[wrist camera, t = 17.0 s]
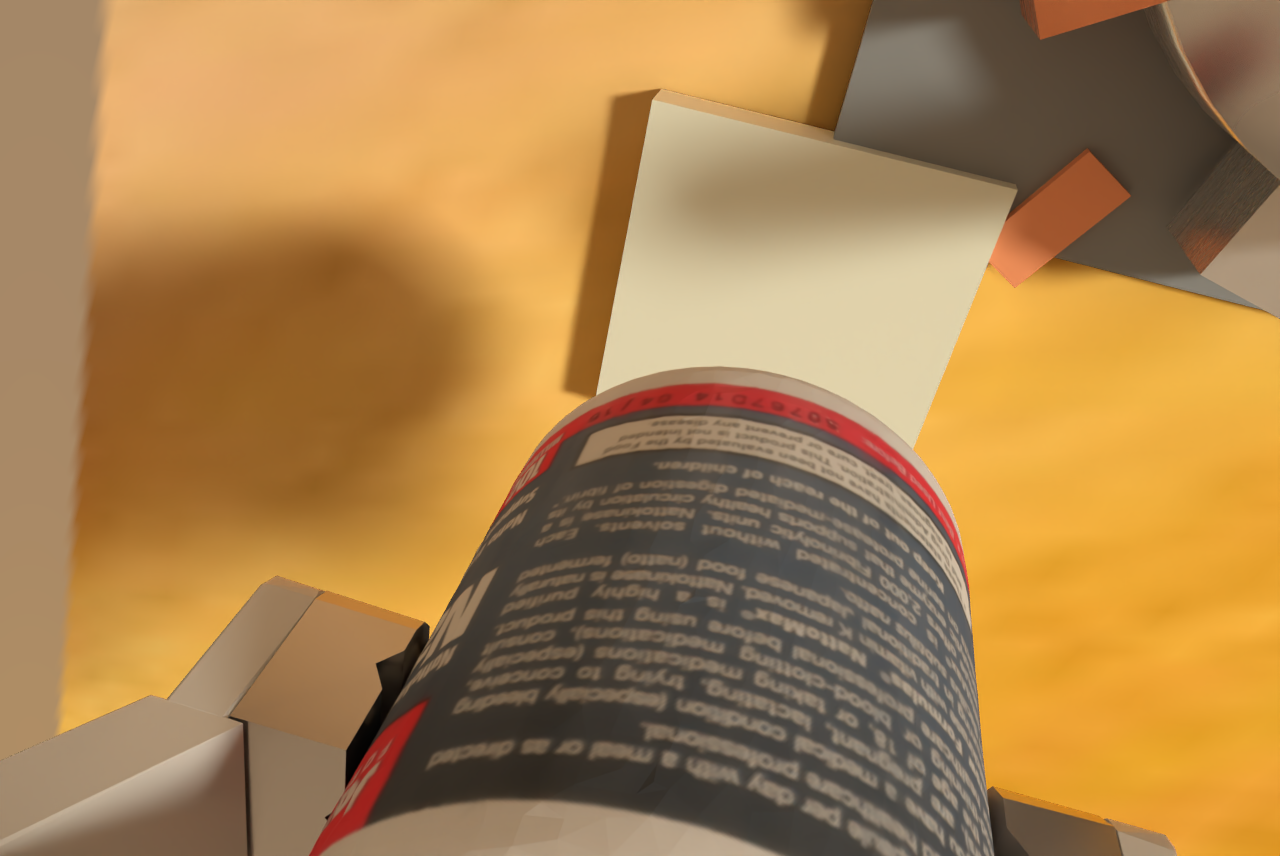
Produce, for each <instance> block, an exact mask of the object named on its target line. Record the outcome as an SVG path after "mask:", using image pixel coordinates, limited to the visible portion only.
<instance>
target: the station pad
mask: <svg viewBox="0 0 1280 856" xmlns="http://www.w3.org/2000/svg"><path fill="white" fill-rule="evenodd" d="M834 132H835V131H831V130H827V129H823V128H819V127H815V126H810V125H806V124H802V123H798V122H794V121H790V120H786V119H782V118H778V117H774V116H770V115H766V114H762V113H758V112H754V111H750V110H746V109H742V108H737V107H733V106H729V105H725V104H721V103H717V102H713V101H709V100H705V99H701V98H697V97H693V96H689V95H685V94H681V93H677V92H673V91H669V90H664V89H661V90H660V91H659V92H658V93H657V95H656V96H655V97H654V98H653V99H652V104H651V109H650V114H649V120H648V125H647V130H646V135H645V141H644V146H643V151H642V156H641V162H640V167H639V172H638V177H637V183H636V188H635V193H634V198H633V204H632V209H631V214H630V219H629V225H628V230H627V235H626V240H625V246H624V251H623V256H622V261H621V267H620V272H619V277H618V283H617V288H616V293H615V298H614V304H613V309H612V314H611V319H610V325H609V330H608V335H607V340H606V346H605V351H604V356H603V361H602V367H601V372H600V377H599V382H598V388H597V393H596V395H598V394H600V393H602V392H604V391H606V390H608V389H610V388H612V387H615V386H617V385H620V384H622V383H625V382H627V381H630V380H632V379H635V378H639V377H643V376H647V375H650V374H654V373H658V372H662V371H668V370H675V369H683V368H691V367H713V366H723V367H737V368H749V369H755V370H761V371H767V372H772V373H776V374H781V375H785V376H788V377H792V378H795V379H798V380H802V381H805V382H808V383H810V384H813V385H815V386H818V387H821V388H823V389H826V390H828V391H830V392H832V393H834V394H836V395H839V396H841V397H843V398H845V399H847V400H849V401H850V402H852V403H854V404H855V405H857V406H859V407H860V408H862V409H864V410H865V411H867V412H868V413H870V414H872V415H873V416H875V417H876V418H877V419H879V420H880V421H881V422H883V423H884V424H885V425H886V426H888V427H889V428H890V429H891V430H892V431H894V432H895V433H896V434H897V435H898V436H899V437H901V438H902V439H903V440H904V441H905V442H906V443H907V444H908V445H909V446H910V447H911V448H912V449H913V448H914V445H915V443H916V440H917V438H918V436H919V433H920V431H921V428H922V426H923V423H924V421H925V418H926V416H927V413H928V411H929V408H930V406H931V403H932V401H933V398H934V396H935V393H936V391H937V389H938V386H939V384H940V381H941V379H942V376H943V374H944V371H945V369H946V366H947V364H948V361H949V359H950V356H951V354H952V351H953V349H954V346H955V344H956V342H957V339H958V337H959V334H960V332H961V329H962V327H963V324H964V322H965V319H966V317H967V314H968V312H969V309H970V307H971V304H972V302H973V299H974V297H975V295H976V292H977V290H978V287H979V285H980V282H981V280H982V277H983V275H984V272H985V270H986V267H987V265H988V262H989V260H990V257H991V255H992V252H993V250H994V248H995V245H996V243H997V240H998V238H999V235H1000V233H1001V230H1002V228H1003V225H1004V223H1005V220H1006V218H1007V215H1008V213H1009V210H1010V208H1011V205H1012V203H1013V201H1014V198H1015V196H1016V193H1017V191H1018V189H1017V187H1016V184H1012V183H1008V182H1004V181H1000V180H996V179H992V178H988V177H984V176H980V175H976V174H972V173H968V172H964V171H960V170H956V169H952V168H947V167H943V166H939V165H935V164H931V163H927V162H923V161H919V160H915V159H911V158H907V157H903V156H899V155H895V154H891V153H887V152H883V151H879V150H875V149H871V148H867V147H863V146H859V145H854V144H850V143H846V142H842V141H838V140H834V139H833V138H834Z"/></svg>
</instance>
